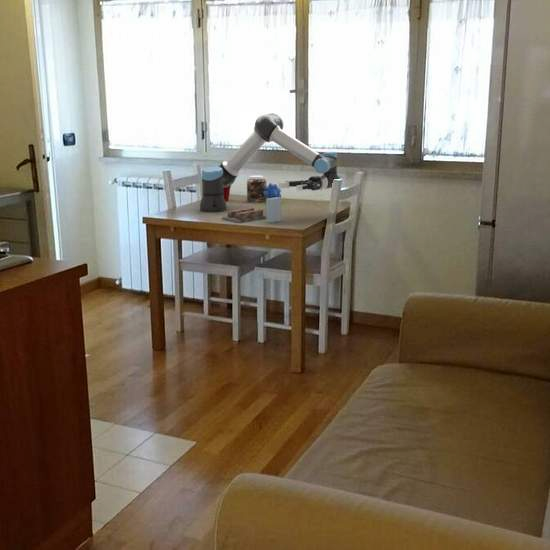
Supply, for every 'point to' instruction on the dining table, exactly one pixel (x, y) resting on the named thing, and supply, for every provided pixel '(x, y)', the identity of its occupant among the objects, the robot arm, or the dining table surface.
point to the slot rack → (244, 215)
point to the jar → (256, 189)
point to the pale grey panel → (273, 209)
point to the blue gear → (272, 191)
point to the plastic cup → (226, 193)
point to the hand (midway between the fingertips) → (288, 187)
